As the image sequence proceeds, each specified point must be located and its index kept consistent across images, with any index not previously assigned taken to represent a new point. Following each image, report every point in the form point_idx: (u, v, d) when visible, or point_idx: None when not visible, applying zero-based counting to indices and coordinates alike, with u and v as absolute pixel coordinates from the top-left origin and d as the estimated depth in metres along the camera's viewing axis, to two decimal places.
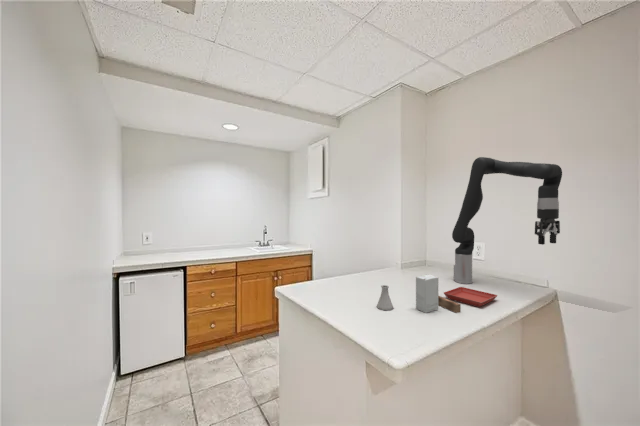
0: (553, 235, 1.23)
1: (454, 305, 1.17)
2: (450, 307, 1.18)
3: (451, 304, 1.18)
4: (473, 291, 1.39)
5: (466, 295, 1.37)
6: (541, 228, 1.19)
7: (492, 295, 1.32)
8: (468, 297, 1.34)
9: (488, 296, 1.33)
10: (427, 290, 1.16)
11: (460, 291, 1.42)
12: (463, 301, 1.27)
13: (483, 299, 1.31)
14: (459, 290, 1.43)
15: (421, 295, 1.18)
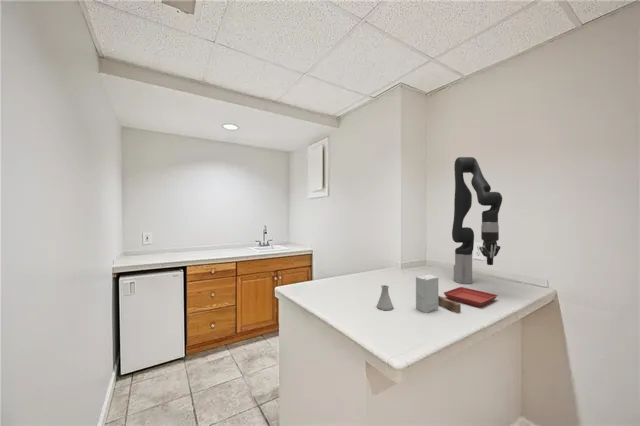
0: None
1: (454, 305, 1.17)
2: (450, 307, 1.18)
3: (451, 304, 1.18)
4: (473, 291, 1.39)
5: (466, 295, 1.37)
6: (486, 252, 1.35)
7: (492, 295, 1.32)
8: (468, 297, 1.34)
9: (488, 296, 1.33)
10: (427, 290, 1.16)
11: (460, 291, 1.42)
12: (463, 301, 1.27)
13: (483, 299, 1.31)
14: (459, 290, 1.43)
15: (421, 295, 1.18)
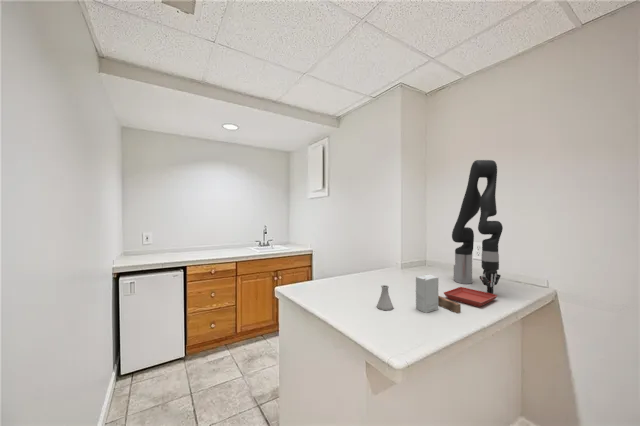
0: None
1: (454, 305, 1.17)
2: (450, 307, 1.18)
3: (451, 304, 1.18)
4: (473, 291, 1.39)
5: (466, 295, 1.37)
6: (486, 281, 1.35)
7: (492, 295, 1.32)
8: (468, 297, 1.34)
9: (488, 296, 1.33)
10: (427, 290, 1.16)
11: (460, 291, 1.42)
12: (463, 301, 1.27)
13: (483, 299, 1.31)
14: (459, 290, 1.43)
15: (421, 295, 1.18)
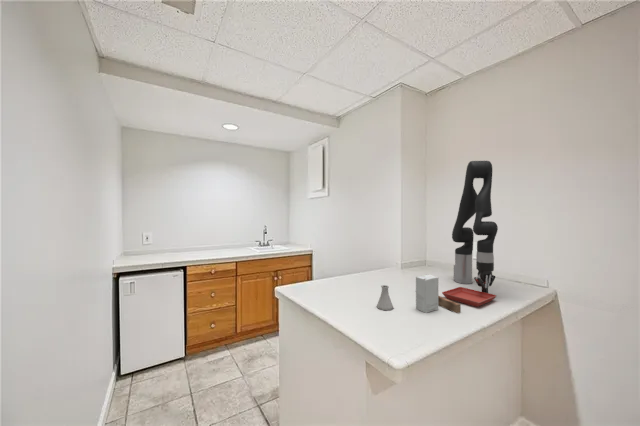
0: None
1: (454, 305, 1.17)
2: (450, 307, 1.18)
3: (451, 304, 1.18)
4: (472, 291, 1.39)
5: (465, 295, 1.37)
6: (481, 283, 1.34)
7: (491, 295, 1.31)
8: (467, 297, 1.34)
9: (487, 296, 1.33)
10: (427, 290, 1.16)
11: (459, 291, 1.42)
12: (461, 301, 1.27)
13: (482, 299, 1.31)
14: (458, 290, 1.42)
15: (421, 295, 1.18)
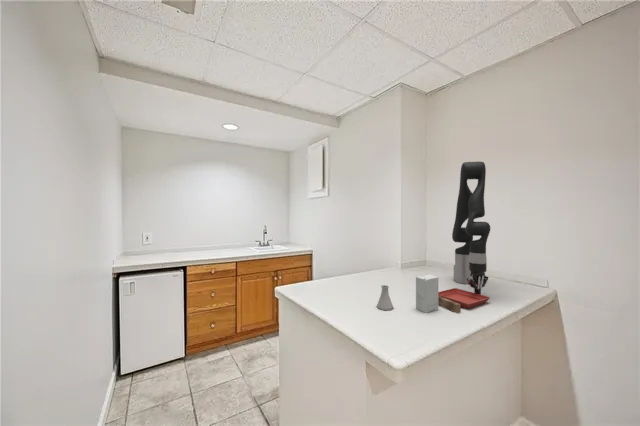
0: None
1: (454, 305, 1.17)
2: (450, 307, 1.18)
3: (451, 304, 1.18)
4: (466, 293, 1.37)
5: (458, 296, 1.35)
6: (473, 284, 1.32)
7: (485, 297, 1.29)
8: (460, 298, 1.32)
9: (481, 298, 1.30)
10: (427, 290, 1.16)
11: (454, 292, 1.40)
12: None
13: (475, 301, 1.28)
14: (453, 291, 1.41)
15: (421, 295, 1.18)
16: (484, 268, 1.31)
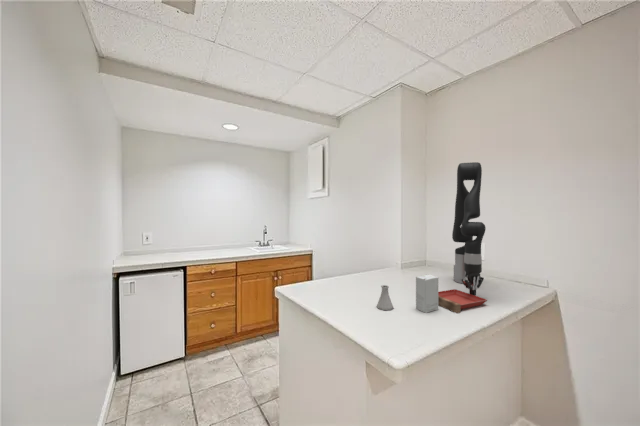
0: None
1: (454, 305, 1.17)
2: (450, 307, 1.18)
3: (451, 304, 1.18)
4: (465, 294, 1.34)
5: (456, 298, 1.33)
6: (468, 285, 1.31)
7: (482, 299, 1.26)
8: (456, 300, 1.30)
9: (478, 300, 1.27)
10: (427, 290, 1.16)
11: (452, 293, 1.39)
12: None
13: (471, 303, 1.26)
14: (451, 292, 1.39)
15: (421, 295, 1.18)
16: (479, 269, 1.29)
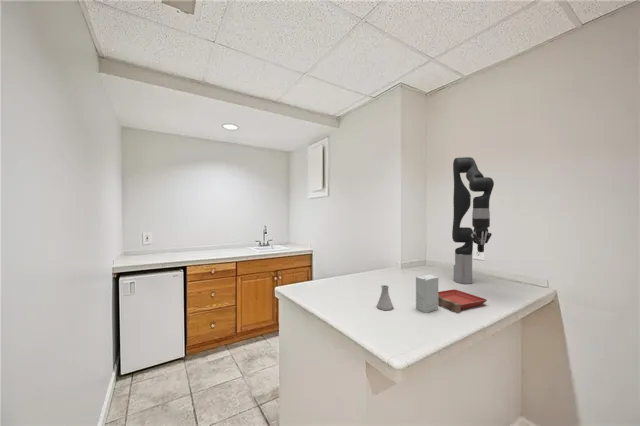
0: None
1: (454, 305, 1.17)
2: (450, 307, 1.18)
3: (451, 304, 1.18)
4: (465, 294, 1.34)
5: (456, 298, 1.33)
6: (477, 239, 1.32)
7: (482, 299, 1.26)
8: (456, 300, 1.30)
9: (478, 300, 1.27)
10: (427, 290, 1.16)
11: (452, 293, 1.39)
12: None
13: (471, 303, 1.26)
14: (451, 292, 1.39)
15: (421, 295, 1.18)
16: (487, 223, 1.31)
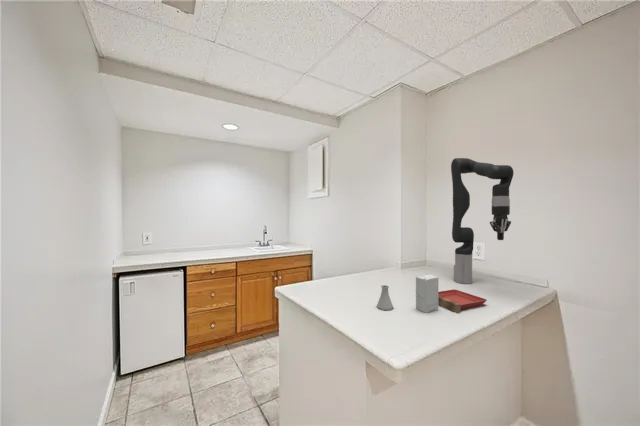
0: None
1: (454, 305, 1.17)
2: (450, 307, 1.18)
3: (451, 304, 1.18)
4: (465, 294, 1.34)
5: (456, 298, 1.33)
6: (497, 227, 1.32)
7: (482, 299, 1.26)
8: (456, 300, 1.30)
9: (478, 300, 1.27)
10: (427, 290, 1.16)
11: (452, 293, 1.39)
12: None
13: (471, 303, 1.26)
14: (451, 292, 1.39)
15: (421, 295, 1.18)
16: (507, 210, 1.30)
